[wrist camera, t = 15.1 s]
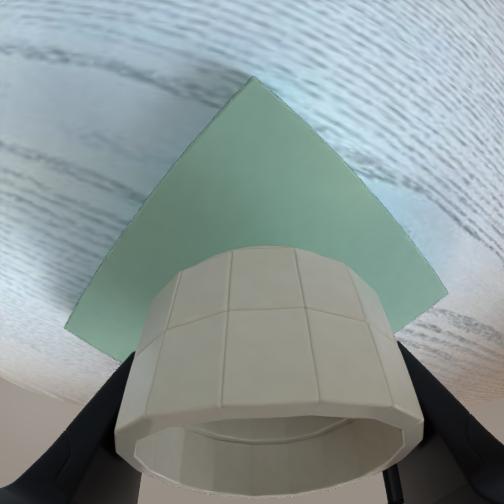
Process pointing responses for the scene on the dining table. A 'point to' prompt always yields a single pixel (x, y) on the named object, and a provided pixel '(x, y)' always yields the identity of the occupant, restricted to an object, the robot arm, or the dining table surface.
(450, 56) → the dining table surface
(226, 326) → the bowl
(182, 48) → the dining table surface
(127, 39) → the dining table surface
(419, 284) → the scale
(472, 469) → the robot arm
